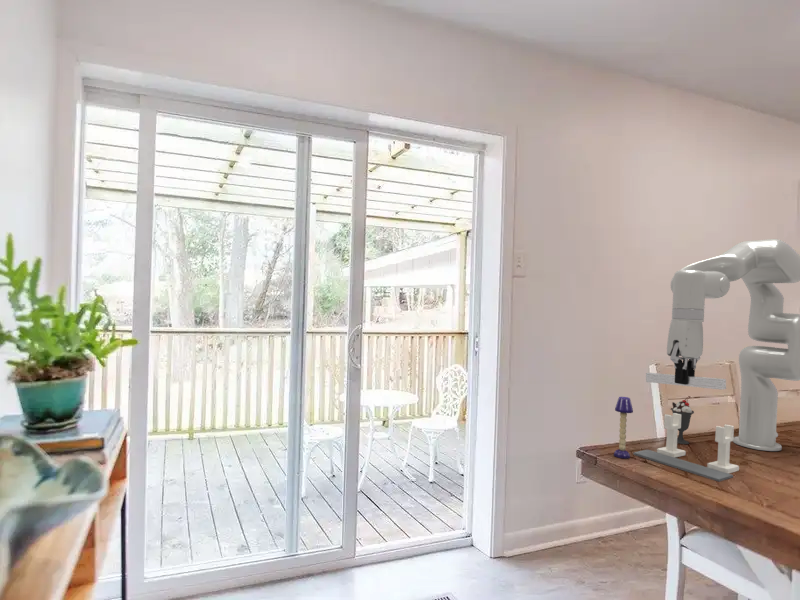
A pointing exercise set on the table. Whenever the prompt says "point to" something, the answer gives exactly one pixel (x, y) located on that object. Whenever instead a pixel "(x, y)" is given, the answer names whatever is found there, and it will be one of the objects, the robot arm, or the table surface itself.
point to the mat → (684, 465)
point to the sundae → (683, 418)
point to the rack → (722, 437)
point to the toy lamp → (623, 425)
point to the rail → (692, 381)
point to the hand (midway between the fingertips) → (684, 382)
